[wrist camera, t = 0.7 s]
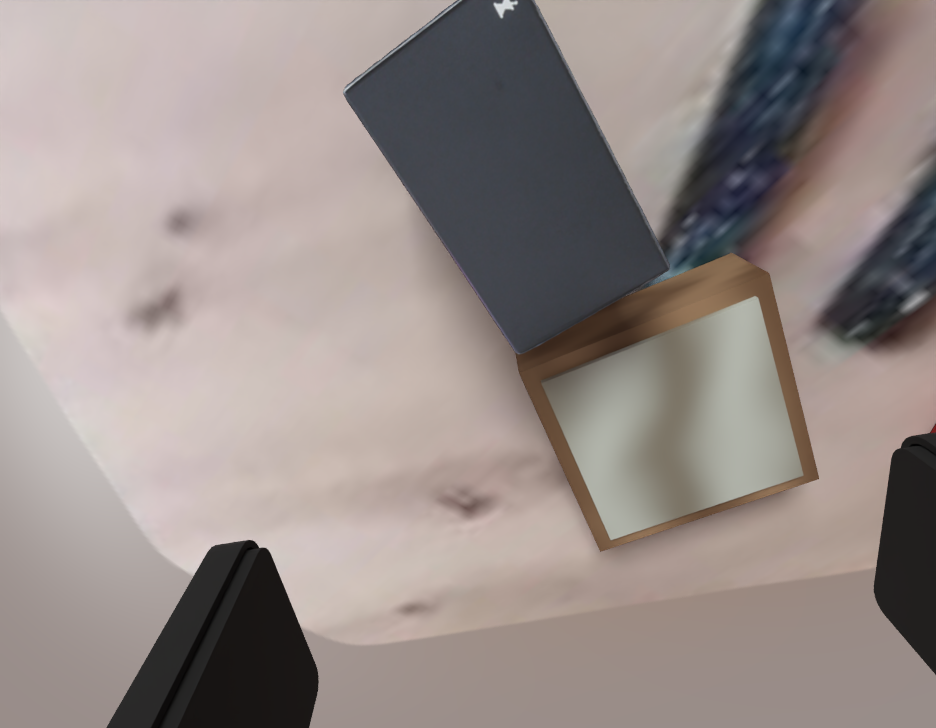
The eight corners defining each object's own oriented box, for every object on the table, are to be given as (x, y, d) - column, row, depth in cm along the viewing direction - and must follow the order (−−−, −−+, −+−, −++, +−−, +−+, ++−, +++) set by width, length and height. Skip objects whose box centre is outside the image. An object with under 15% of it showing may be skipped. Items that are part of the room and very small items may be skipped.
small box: (379, 98, 26) (326, 88, 17) (499, 7, 25) (516, -59, 15) (500, 284, 30) (513, 365, 20) (611, 215, 28) (683, 267, 19)
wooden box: (731, 253, 29) (772, 274, 25) (781, 438, 33) (822, 482, 29) (513, 342, 31) (519, 375, 27) (587, 506, 35) (601, 555, 31)
